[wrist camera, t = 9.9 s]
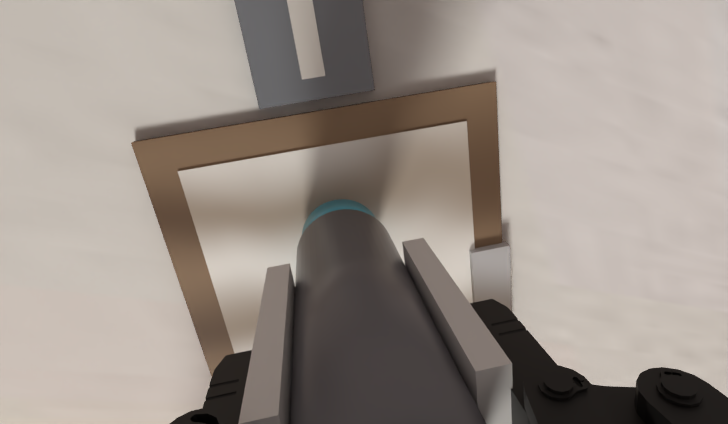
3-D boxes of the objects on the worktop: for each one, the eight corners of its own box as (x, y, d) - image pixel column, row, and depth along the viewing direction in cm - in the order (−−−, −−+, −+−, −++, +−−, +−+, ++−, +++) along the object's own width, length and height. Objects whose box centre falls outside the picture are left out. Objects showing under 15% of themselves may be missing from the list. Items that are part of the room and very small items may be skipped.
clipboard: (134, 141, 18) (126, 144, 17) (496, 80, 19) (504, 81, 18) (256, 497, 25) (254, 511, 24) (509, 437, 26) (516, 449, 26)
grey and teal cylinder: (286, 202, 18) (239, 549, 5) (379, 185, 18) (565, 469, 5) (304, 285, 20) (306, 723, 6) (391, 267, 20) (560, 652, 7)
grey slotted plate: (217, -81, 16) (214, -85, 15) (347, -97, 16) (348, -103, 15) (260, 108, 18) (259, 109, 17) (373, 89, 18) (374, 90, 18)
